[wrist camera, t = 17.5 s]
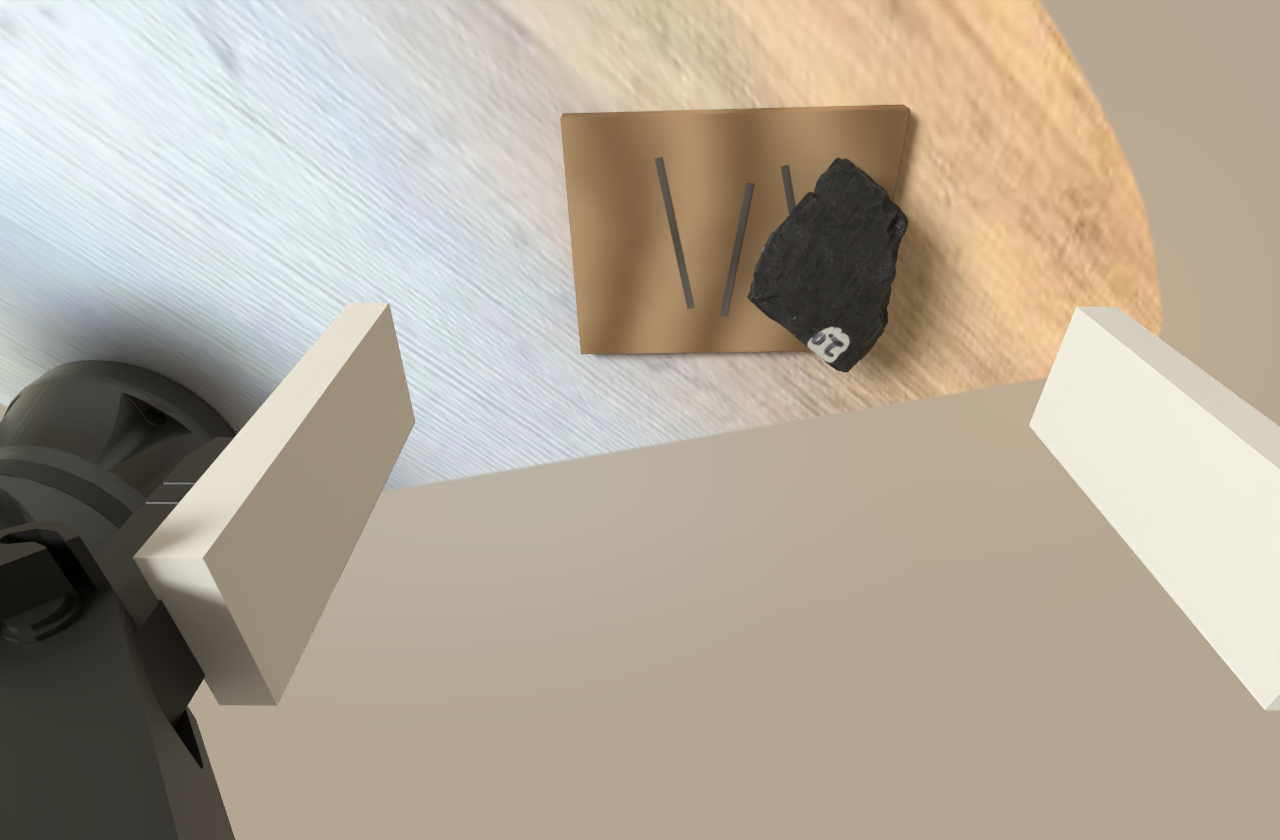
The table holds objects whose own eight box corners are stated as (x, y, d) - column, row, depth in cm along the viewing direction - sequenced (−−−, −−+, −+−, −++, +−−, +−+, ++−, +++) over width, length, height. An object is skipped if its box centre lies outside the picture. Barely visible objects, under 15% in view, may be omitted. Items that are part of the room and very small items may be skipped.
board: (582, 345, 44) (581, 354, 43) (563, 113, 36) (560, 118, 35) (861, 341, 44) (866, 350, 43) (903, 104, 36) (910, 109, 35)
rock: (840, 355, 43) (865, 405, 38) (712, 267, 40) (723, 309, 35) (950, 241, 39) (995, 280, 34) (818, 132, 35) (846, 158, 31)
